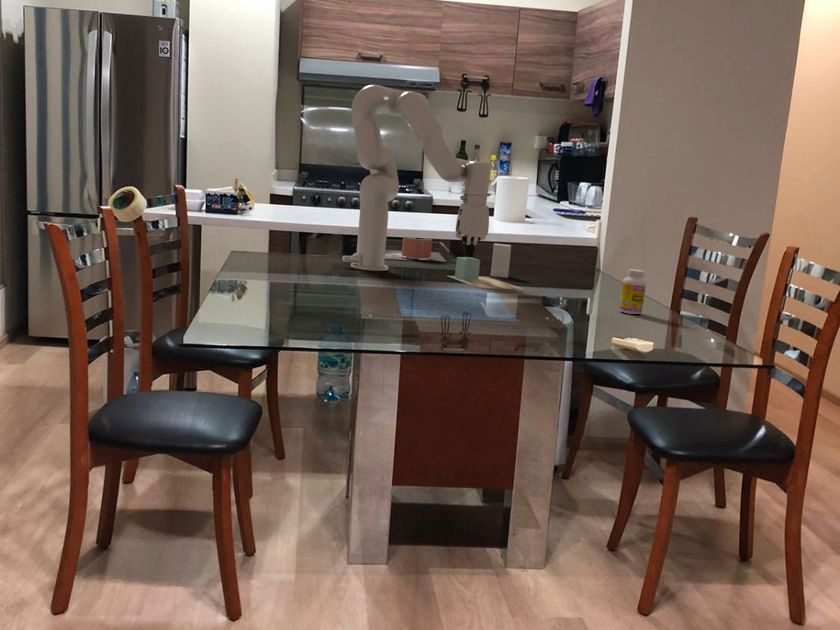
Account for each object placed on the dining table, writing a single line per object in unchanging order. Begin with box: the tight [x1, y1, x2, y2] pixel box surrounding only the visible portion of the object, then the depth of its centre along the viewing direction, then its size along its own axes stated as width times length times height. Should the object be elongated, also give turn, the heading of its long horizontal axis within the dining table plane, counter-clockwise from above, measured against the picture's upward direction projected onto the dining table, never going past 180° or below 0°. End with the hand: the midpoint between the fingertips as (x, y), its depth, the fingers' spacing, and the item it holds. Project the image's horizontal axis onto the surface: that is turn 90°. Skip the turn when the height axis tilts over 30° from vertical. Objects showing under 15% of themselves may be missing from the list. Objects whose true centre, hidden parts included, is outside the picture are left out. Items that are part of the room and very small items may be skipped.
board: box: [447, 275, 524, 290], centre depth 284 cm, size 16×22×1 cm
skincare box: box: [490, 243, 512, 278], centre depth 301 cm, size 6×4×12 cm
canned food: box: [401, 238, 433, 258], centre depth 335 cm, size 11×11×12 cm
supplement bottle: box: [618, 268, 647, 315], centre depth 258 cm, size 7×7×13 cm
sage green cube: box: [454, 256, 481, 280], centre depth 287 cm, size 6×6×7 cm
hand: (468, 256), depth 287 cm, fingers closed
